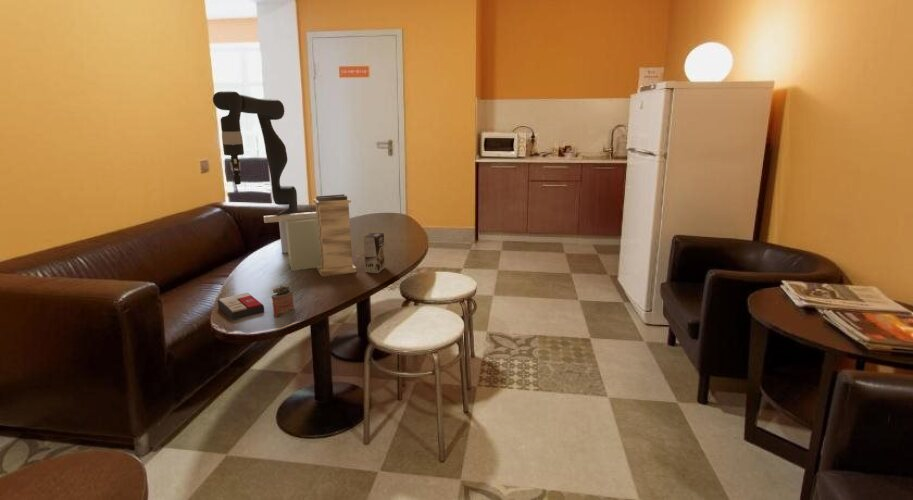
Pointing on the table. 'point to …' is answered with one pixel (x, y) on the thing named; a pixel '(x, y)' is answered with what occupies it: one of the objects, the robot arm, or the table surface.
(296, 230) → the upright cream box
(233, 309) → the red and beige box
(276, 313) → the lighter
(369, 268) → the coffee box
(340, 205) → the tall stand
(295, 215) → the hook bar
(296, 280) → the table surface
